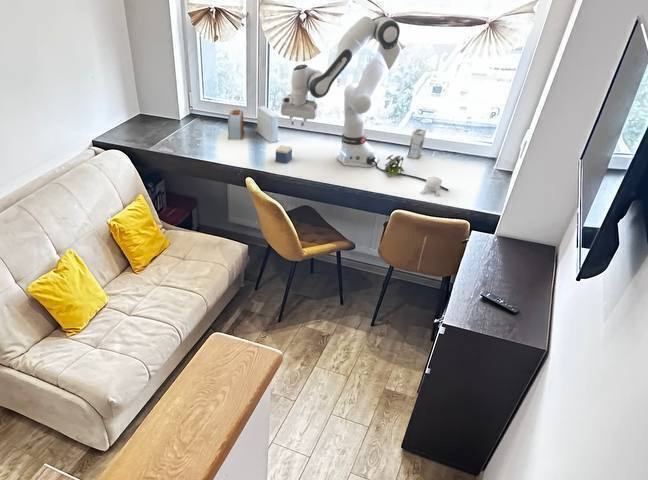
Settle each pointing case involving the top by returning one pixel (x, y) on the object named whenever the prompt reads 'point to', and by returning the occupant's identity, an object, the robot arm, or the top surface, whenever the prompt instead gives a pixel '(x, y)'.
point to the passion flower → (394, 168)
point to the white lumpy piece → (433, 184)
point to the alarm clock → (235, 124)
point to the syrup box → (416, 143)
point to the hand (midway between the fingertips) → (298, 125)
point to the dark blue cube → (283, 154)
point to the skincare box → (267, 124)
